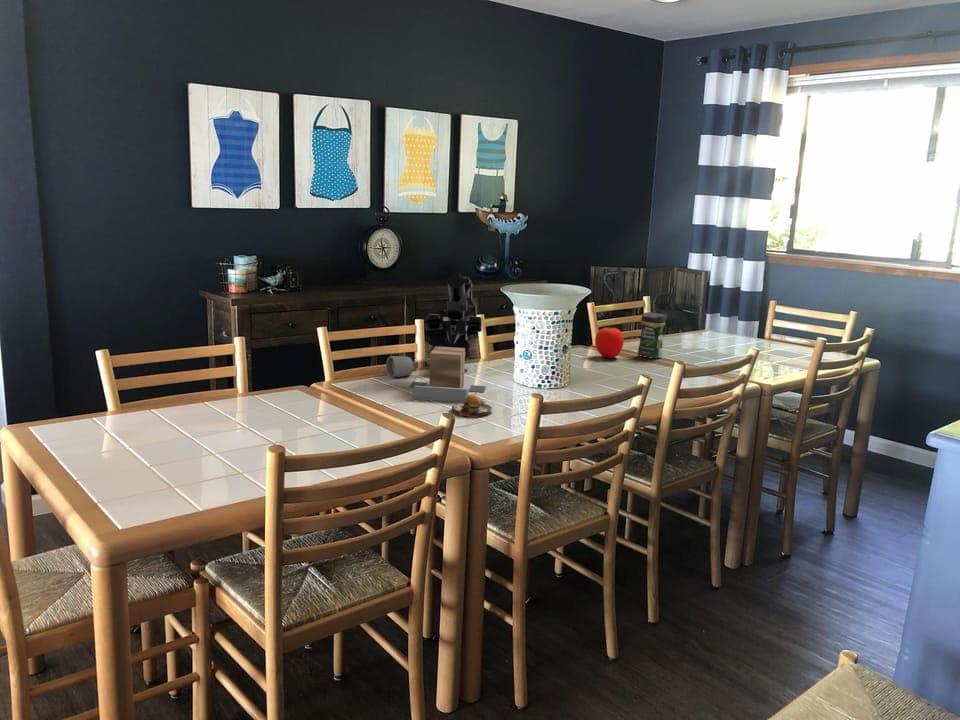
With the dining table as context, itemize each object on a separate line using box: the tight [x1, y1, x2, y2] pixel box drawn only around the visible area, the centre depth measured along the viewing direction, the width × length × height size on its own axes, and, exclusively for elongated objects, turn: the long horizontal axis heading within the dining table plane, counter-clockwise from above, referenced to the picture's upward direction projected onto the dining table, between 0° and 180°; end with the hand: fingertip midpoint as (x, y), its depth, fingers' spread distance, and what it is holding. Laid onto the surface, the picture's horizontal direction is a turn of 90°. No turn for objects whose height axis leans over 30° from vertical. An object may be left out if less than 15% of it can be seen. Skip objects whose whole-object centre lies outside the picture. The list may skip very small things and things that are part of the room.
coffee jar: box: [637, 311, 666, 359], centre depth 322 cm, size 10×8×19 cm
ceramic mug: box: [385, 355, 415, 379], centre depth 273 cm, size 10×8×7 cm
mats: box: [408, 381, 487, 393], centre depth 259 cm, size 8×25×1 cm, turn 85°
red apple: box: [594, 326, 625, 359], centre depth 317 cm, size 11×11×13 cm
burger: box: [451, 392, 493, 419], centre depth 230 cm, size 12×12×8 cm
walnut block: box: [428, 345, 466, 388], centre depth 256 cm, size 12×10×13 cm
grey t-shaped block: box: [413, 385, 470, 403], centre depth 246 cm, size 8×16×4 cm, turn 85°
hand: (451, 342), depth 264 cm, fingers closed
